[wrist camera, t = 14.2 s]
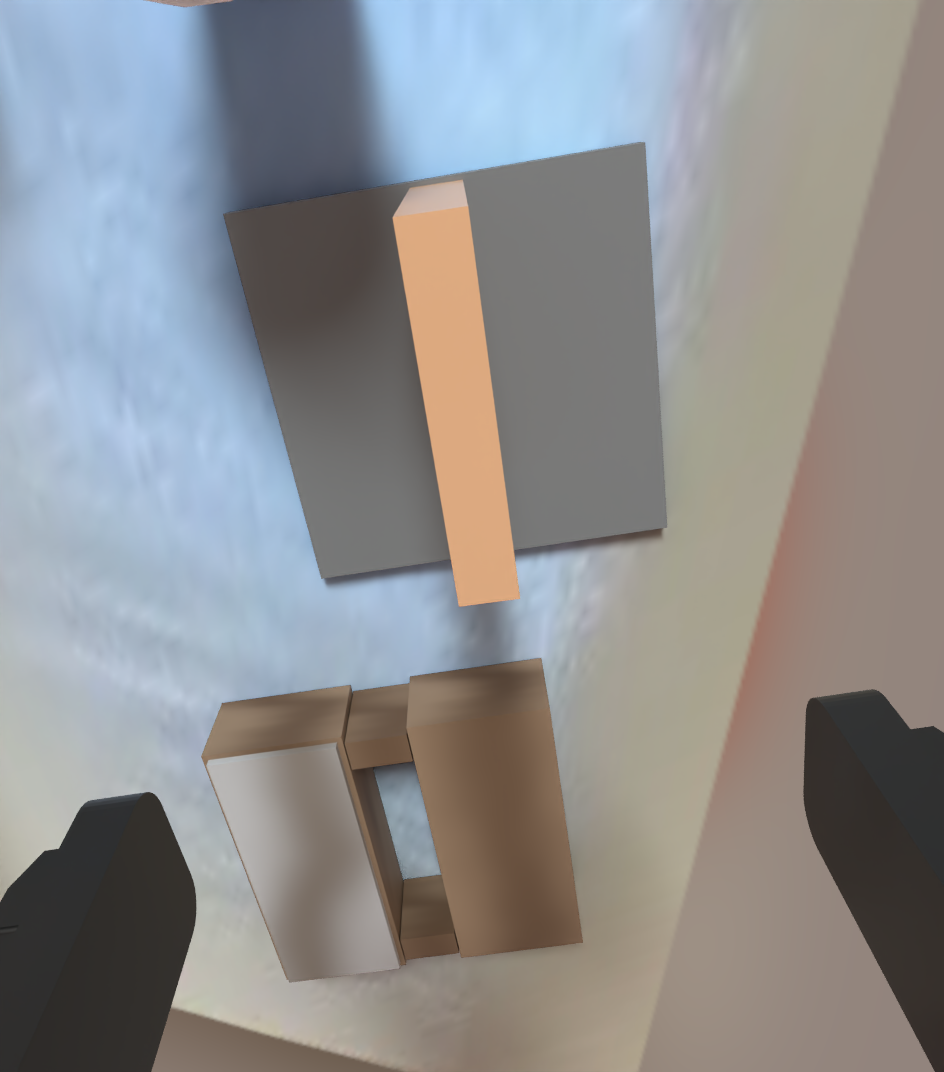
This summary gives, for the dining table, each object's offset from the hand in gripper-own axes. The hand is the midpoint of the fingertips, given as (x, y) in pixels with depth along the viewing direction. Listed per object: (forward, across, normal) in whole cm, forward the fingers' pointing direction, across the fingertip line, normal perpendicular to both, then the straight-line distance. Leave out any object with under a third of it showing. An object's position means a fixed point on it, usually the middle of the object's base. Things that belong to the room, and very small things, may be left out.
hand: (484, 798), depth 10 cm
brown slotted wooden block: (+18, +5, +17) cm, 25 cm away
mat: (+18, 0, 0) cm, 18 cm away
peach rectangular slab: (+14, 0, +3) cm, 14 cm away
